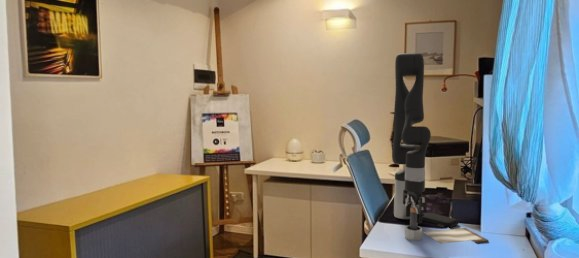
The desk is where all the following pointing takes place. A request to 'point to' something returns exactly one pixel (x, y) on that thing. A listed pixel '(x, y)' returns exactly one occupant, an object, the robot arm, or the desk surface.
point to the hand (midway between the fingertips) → (413, 219)
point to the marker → (413, 219)
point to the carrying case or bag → (440, 220)
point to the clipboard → (455, 236)
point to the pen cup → (413, 234)
